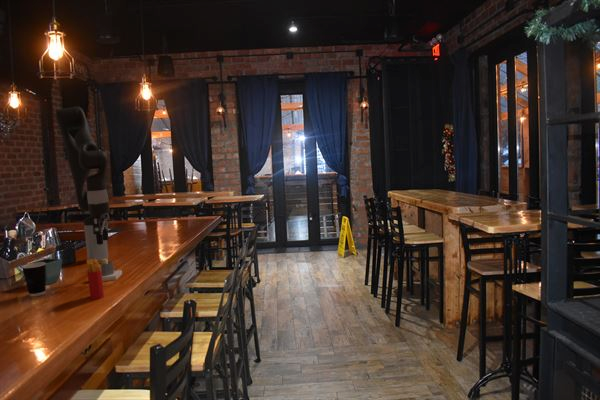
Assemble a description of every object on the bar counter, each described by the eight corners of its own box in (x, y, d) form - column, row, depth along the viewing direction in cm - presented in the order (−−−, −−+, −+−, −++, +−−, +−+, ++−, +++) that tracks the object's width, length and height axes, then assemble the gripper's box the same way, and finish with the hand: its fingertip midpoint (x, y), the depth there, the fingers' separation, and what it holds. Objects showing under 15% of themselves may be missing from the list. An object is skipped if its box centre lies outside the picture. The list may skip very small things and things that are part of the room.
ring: (100, 273, 198) (98, 262, 198) (115, 271, 199) (114, 260, 198) (96, 276, 192) (94, 265, 192) (111, 275, 193) (110, 263, 192)
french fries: (103, 299, 165) (99, 261, 163) (89, 301, 163) (85, 262, 162) (104, 292, 173) (100, 256, 172) (91, 294, 172) (87, 257, 171)
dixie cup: (51, 290, 182) (47, 261, 181) (48, 295, 175) (44, 265, 174) (27, 293, 180) (23, 264, 178) (23, 299, 172) (19, 268, 171)
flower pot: (64, 280, 196) (62, 258, 195) (47, 286, 188) (44, 263, 187) (47, 280, 199) (45, 258, 198) (29, 286, 191) (26, 263, 190)
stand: (96, 276, 200) (94, 258, 199) (122, 273, 201) (120, 255, 200) (89, 282, 190) (87, 263, 189) (116, 279, 191) (114, 260, 190)
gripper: (93, 200, 199) (97, 239, 201) (82, 204, 185) (88, 246, 187) (112, 199, 200) (116, 238, 202) (103, 202, 186) (108, 244, 188)
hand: (103, 242), depth 194 cm, fingers open, 8 cm apart
